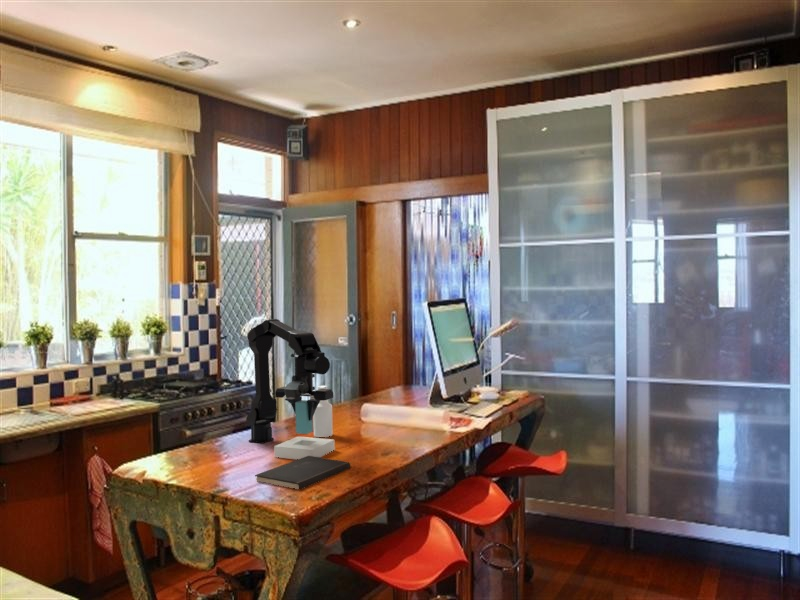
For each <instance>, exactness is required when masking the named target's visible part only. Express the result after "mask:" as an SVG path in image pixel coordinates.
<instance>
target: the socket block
mask: <svg viewBox="0 0 800 600" xmlns="http://www.w3.org/2000/svg"><path fill="white" fill-rule="evenodd" d="M335 445H336V444H335V439H333V438H332V439H330V438H319V437H307V436H295V437H293V438H291V439H288V440H286V441H283V442H281V443H279V444H275V445H274V446H273V448H274V449H273V450H274V451H273V452H274V453H273V454H274V456H273V457H274V458H278V457H279V459H287V460H289V459H290V460H297V459H301V458H304V457H306V456H313V457H319V458H323V457H324V456H326V455H328V454H330V453H332V452H334V451H336V448H335ZM333 450H334V451H333ZM331 451H332V452H331ZM329 452H330V453H329ZM327 453H328V454H327ZM325 454H326V455H325Z"/></svg>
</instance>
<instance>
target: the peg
mask: <svg viewBox="0 0 800 600" xmlns="http://www.w3.org/2000/svg"><path fill="white" fill-rule="evenodd" d="M307 400H308V399H307ZM307 400H305V399H302V400H301V401H298V402H295V412H294V414H295V415H294V416H295V434H300V435H309V434H311V433H314V419H313V418H312V420H310V421H309V417H308V403H307Z"/></svg>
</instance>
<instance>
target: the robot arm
mask: <svg viewBox="0 0 800 600" xmlns="http://www.w3.org/2000/svg"><path fill="white" fill-rule="evenodd" d="M276 337H278V338H280V339H282V340H284V341H286V342H287V344H288V346H289V347H290V348H291V349H292V351H293V352H292V353H291V354H290V357H291V358H294V362H293V363H294V374H293V375H292V377H291V381H290V382H289V383H287V385H286V386H281V387H277V388H276V390H274V391H275V392H274V397H275V398H274V397H273V396H272V395H271V382H270V359H269V356H270V355H269V353H270V351H271V349H272V347H273V344H274V339H275V338H276ZM247 341H248V347H249V348H250V349H251V352H252V353H253V356H254V357H253V358H254V359H253V360H254V363H253V364H254V379H255V380H254V383H255V384H254V385H255V386H254V387H255V396H254V398H253V400H252V402H251V404H250V405H251V407H250V408H251V410H249V413H248V414H247V416H246V417H245V420H246V424H247V425H250V436H251V437H250V438H251V439H249V440H248V442H250V443H261V444H265V443H267V442H269V441H272V440H274V439H275V438H274V437H273V427H272V423H275V421H276V416H277V411H278V407H277V399H276V398H285V399H284V400H285V401H286V402H288V403H289V404H290V405H291V407H292V409H293V412H294V413H295V402H298V401H301V400H303V398H302V397H309V399H307V403H308V417H309V421H310V420H312V418H313V415H314V413H315V410H316V408H317V406H318V404H319V402H320V401H321V400H328V401H329V400H330V399H333V398H334V392H333V390H332V389H331V388H327V389H319V390H318V389H316V386H314V384H313V382H314V380H313V379H314V378H315V377H316V376H315V375H325V374H327V373H328V372H329V370H330V367H331V362H330V360H329V358H328V357H327V356H325V352H323V351H322V350H321V346H320V345H319V344H318V342H317V339H316V337H315V335H314V333H313V332H310V331H304V330H298V329H295V328H293V327H291V326H289V325H288V324H285V323H284V322H282V321H281V320H279V319H277V318H269V319H265V320H264V321H263V322H261V323H260V324H259V323H258V325H256V326H254V327H253V328H251V329H250V330H249V332H247Z"/></svg>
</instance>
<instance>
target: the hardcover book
mask: <svg viewBox="0 0 800 600" xmlns="http://www.w3.org/2000/svg"><path fill="white" fill-rule="evenodd" d="M347 469H348V470H349V469H351V463H350V462H348V461H345V460H338V459H337V460H336V459H331V458H325V457H320V458H319V457H313V456H306V457H304V458H301V459H298V460H297V459H294V460H293V461H290V462H287V463H284V464H282V465H279V466H276V467H273V468H271V469H268V470H266V471H265V470H264V471H262V472H259V473H257V474H254V477H256V482H258V481H261V482H260V483H263V482H266V483H265V484H268V483H271V484H270V485H273V484H274V486H278V485H279V487H283V486H284V487H283V488H288V487H289V488H290V489H293V488H295V489H294V490H298V489H300V490H303V489H305V488H307V487H309V485H310V486H312V485H314V483H315V484H317V483H319V482H322V481H324V480H326V479H329V478H331V477H334V476H335V474H336V475H337V474H340V473H343V472H345V471H348V470H347ZM328 477H329V478H328ZM325 478H326V479H325ZM323 479H324V480H323ZM321 480H322V481H321ZM318 481H319V482H318ZM316 482H317V483H316ZM311 484H312V485H311ZM304 487H305V488H304ZM302 488H303V489H302Z"/></svg>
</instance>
